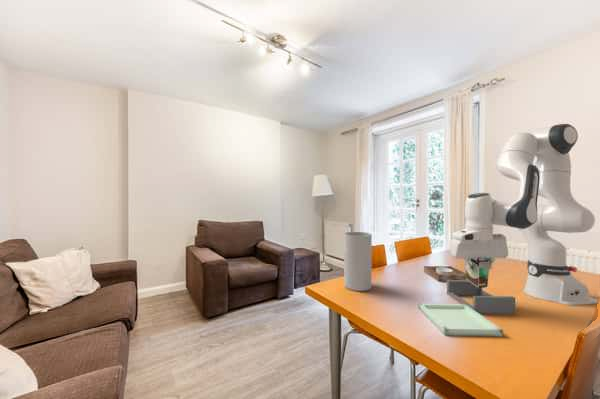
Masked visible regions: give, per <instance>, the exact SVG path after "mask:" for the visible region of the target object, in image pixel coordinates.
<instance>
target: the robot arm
mask: <svg viewBox="0 0 600 399" xmlns="http://www.w3.org/2000/svg"><path fill="white" fill-rule="evenodd" d="M578 135H579V134H578V131H577V129H576V128H575V127H574V126H573V125H571V124H569V123H562V124H561V123H560V124H555V125H552V126H548V127H542V128H539V129H535V130H533V131H529V132H518V133H515V134H513V135H511V136H510V137H509V139H508V140H507V141H506V142H505V144H504V145H503V148H502V149H501V151H500V154H499V156H498V158H497V160H496V169H497V171H498V172H499V173H500V174H501V175H503V176H504V177H506V178H508V179H511V180H515V181H519V182H520V186H519V191H518V193H519V194H518V198H517V199H515V200H512V201H509V200H508V201H507V200H506V201H504V200H502V201H501V200H496V199H494V198H492V195H491V194H490V193H487V192H478V193H472V194H469V195H467V197H466V199H465V204H464V218H465V224H464V228H463V229H461V230H457V231H454V232H452V233H451V236H452V240H451V242H450V255H451V256H452V257H453V258H454V259H458V260H459V259H463V262H464V264H465V263H466V264H467V269H469V270H471V269H474V268H473V267H474V265H472V264H470V262H469V261H471V258H487V259H489V261H490V263H491V267H489V270H492V269H493V264H494V263H495V261H496V259H506V258H508V256H509V250H508V249H509V248H508V242H507V237H506V236H505V235H504V234H502V233H494V226H495V225H496V226H502V227H510V228H516V229H518V230H519V231H520V232H521V234H523V236H524V238H525V240H526V242H527V247H528V260H527V262H526V264H527V267H526V268H527V276H526V281H525V285H524V288H523V292H524V293H525V294H527V295H528V296H531V297H534V298H536V299H540V300H543V301H547V302H548V301H549V302H552V303H558V304H562V305H565V306H581V305H583V306H584V305H593V304H598V303H597V301H598V302H599V300H598V298H597V299H596V298H595V297H593V296H591V295H590V292H589V291H590V290H589V288H588V286H587V284H585V283H583V282H582V281H581V280H579V279H577V278H576V277H575V276H573V275H572V273H571V272H573V273H577V271H578V268H577V267H576V266H572V265H570V266H568V265H567V248H566V246H565V245H564V244H563V243H562V242H560V241H558V240H556V239H555V238H552V237H550V236H549V234H548V232H556V233H567V234H571V233H573V234H574V233H586V232H589V230H591V229H592V228H593V226H594V225H595V223H596V219H595V215H594V213H593V212H592V211H591V210H590V209H588V208H587V207H585V206H583V205H582V204H580V203H579V202H578V201H577V200H576V199H575V198H574V196H573V195H572V192H571V176H572V175H571V174H572V165H571V164H572V161H571V157H570V153H569V152H570V151H571V150H572V149H573V147H574V146H575V145H576V143H577V141H578V138H579V137H578ZM535 158H536V162H535V165H534V161H535ZM538 197H541V198H544V199H546V200H548V204H546V205H543V204H538ZM493 225H494V226H493Z"/></svg>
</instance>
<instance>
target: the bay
mask: <svg viewBox="0 0 600 399" xmlns="http://www.w3.org/2000/svg"><path fill="white" fill-rule="evenodd" d="M446 294H447V295H448V296H449V297H451V298H452V299H453V300H455V301H456V302H457V303H458V304H466V305H467V306H469V307H470V308H472V309H473V310H474V311H476V312H477V313H479V314H480V315H516V297H514V296H509V295H508V296H507V295H504V296H502V295H500V296H499V295H498V296H497V295H493V294H491V293H489V292H487V291H486V290H483V288H478V287H477V286H475V285H474V284H472V283H471V282H470V281H465V280H447V282H446ZM460 296H472V304H471V303H469V302H467V301H466V300H465V299H464V298H462V297H460Z"/></svg>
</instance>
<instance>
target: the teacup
mask: <svg viewBox="0 0 600 399" xmlns="http://www.w3.org/2000/svg"><path fill="white" fill-rule="evenodd" d="M436 272H437V273H438V274H452V272H453V270H451V269H448V268H443V267H438V268H436Z"/></svg>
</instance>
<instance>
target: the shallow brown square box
mask: <svg viewBox="0 0 600 399" xmlns="http://www.w3.org/2000/svg"><path fill="white" fill-rule="evenodd" d="M438 267H443V268H448V269H451V270H453V272H452V274H438V273H437V272H436V268H438ZM423 272H424V273H425V274H426V275H428V276H429V277H431V278H432V279H433V280H435V281H437V282H439V283H447V280H465V281H468V280H467V279H466V272H465V271H462V270H460V269H457V268H455V267H453V265H452V266H447V265H446V266H445V265H444V266H443V265H442V266H441V265H440V266H439V265H438V266H437V265H424V266H423Z"/></svg>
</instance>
